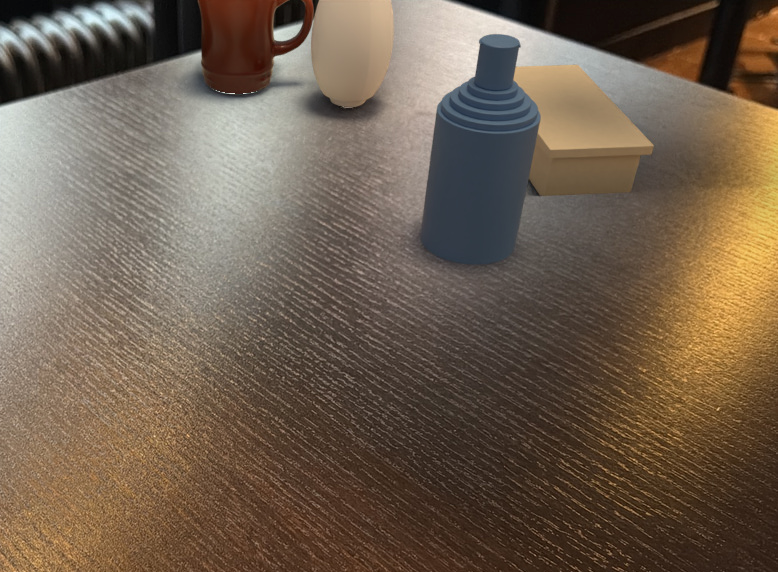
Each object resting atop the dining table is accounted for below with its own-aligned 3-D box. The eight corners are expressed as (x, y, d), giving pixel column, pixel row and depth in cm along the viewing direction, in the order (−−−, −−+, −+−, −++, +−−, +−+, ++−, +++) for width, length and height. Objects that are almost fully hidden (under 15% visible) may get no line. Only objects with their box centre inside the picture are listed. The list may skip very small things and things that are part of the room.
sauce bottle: (371, 126, 97) (388, -73, 85) (296, 112, 99) (304, -83, 88) (396, 97, 102) (416, -94, 91) (325, 84, 105) (336, -103, 93)
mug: (195, 102, 101) (192, -3, 95) (195, 69, 108) (193, -30, 101) (313, 101, 101) (318, -3, 95) (306, 68, 108) (311, -31, 102)
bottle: (496, 233, 81) (535, 20, 70) (523, 281, 75) (570, 58, 65) (408, 237, 80) (435, 23, 70) (429, 285, 75) (461, 61, 64)
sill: (567, 114, 99) (577, 64, 96) (639, 200, 85) (654, 145, 82) (480, 117, 99) (488, 67, 95) (538, 204, 85) (550, 149, 82)
